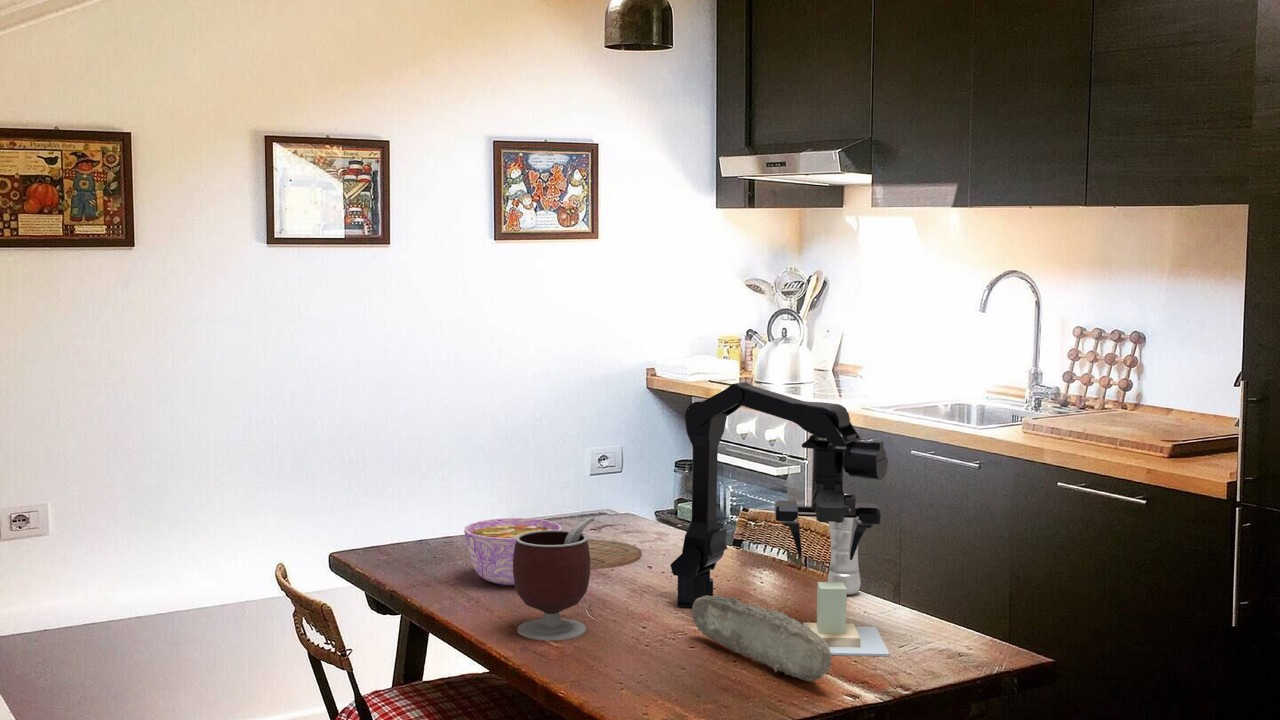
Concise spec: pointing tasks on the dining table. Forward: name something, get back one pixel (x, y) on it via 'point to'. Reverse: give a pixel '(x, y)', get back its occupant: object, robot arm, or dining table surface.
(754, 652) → the long grey stone
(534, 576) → the mate gourd
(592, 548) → the trivet
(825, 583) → the block
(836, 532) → the plastic bottle
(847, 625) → the foundation slab
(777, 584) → the dining table surface
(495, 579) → the bowl of food
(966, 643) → the dining table surface
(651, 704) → the dining table surface
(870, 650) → the board
